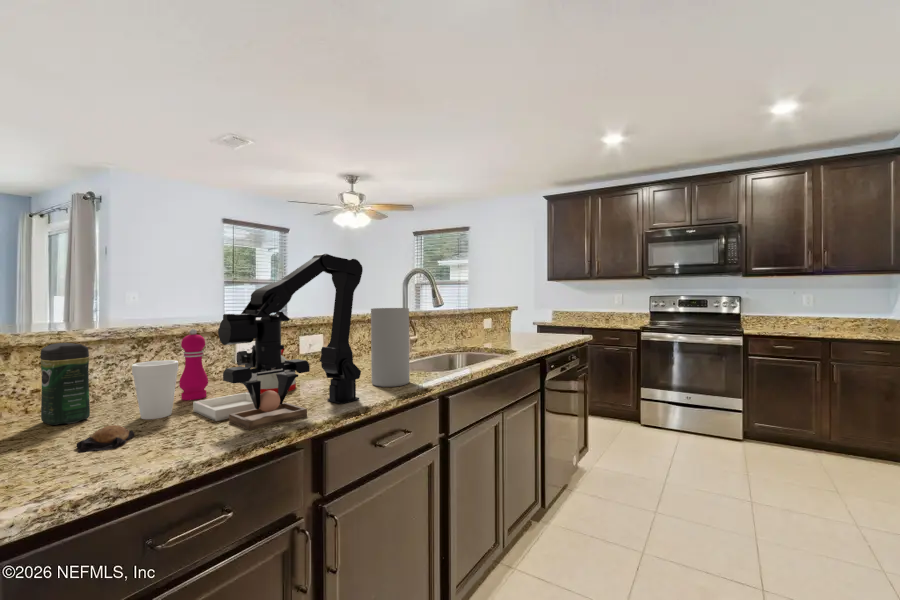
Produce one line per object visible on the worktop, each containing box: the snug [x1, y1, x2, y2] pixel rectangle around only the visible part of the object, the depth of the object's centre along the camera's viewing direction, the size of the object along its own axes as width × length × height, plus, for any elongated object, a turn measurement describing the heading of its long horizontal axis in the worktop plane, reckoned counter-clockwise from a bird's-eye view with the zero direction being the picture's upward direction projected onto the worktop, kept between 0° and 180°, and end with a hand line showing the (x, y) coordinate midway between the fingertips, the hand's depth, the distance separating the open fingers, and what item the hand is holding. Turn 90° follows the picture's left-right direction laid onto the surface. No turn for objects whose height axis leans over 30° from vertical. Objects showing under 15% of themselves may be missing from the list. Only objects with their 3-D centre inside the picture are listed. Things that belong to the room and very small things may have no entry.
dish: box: [192, 391, 256, 422], centre depth 110 cm, size 14×14×2 cm
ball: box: [259, 390, 280, 412], centre depth 102 cm, size 5×5×5 cm
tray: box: [228, 402, 308, 431], centre depth 102 cm, size 14×10×2 cm
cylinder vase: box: [370, 307, 410, 388], centre depth 142 cm, size 12×12×25 cm
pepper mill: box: [178, 328, 209, 401], centre depth 124 cm, size 7×7×20 cm
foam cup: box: [131, 359, 179, 420], centre depth 105 cm, size 10×9×13 cm
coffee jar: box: [39, 342, 91, 426], centre depth 101 cm, size 10×8×19 cm
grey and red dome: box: [257, 348, 297, 395], centre depth 134 cm, size 14×14×15 cm
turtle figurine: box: [76, 424, 135, 454], centre depth 86 cm, size 11×8×4 cm
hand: (269, 406), depth 102 cm, fingers open, 5 cm apart
